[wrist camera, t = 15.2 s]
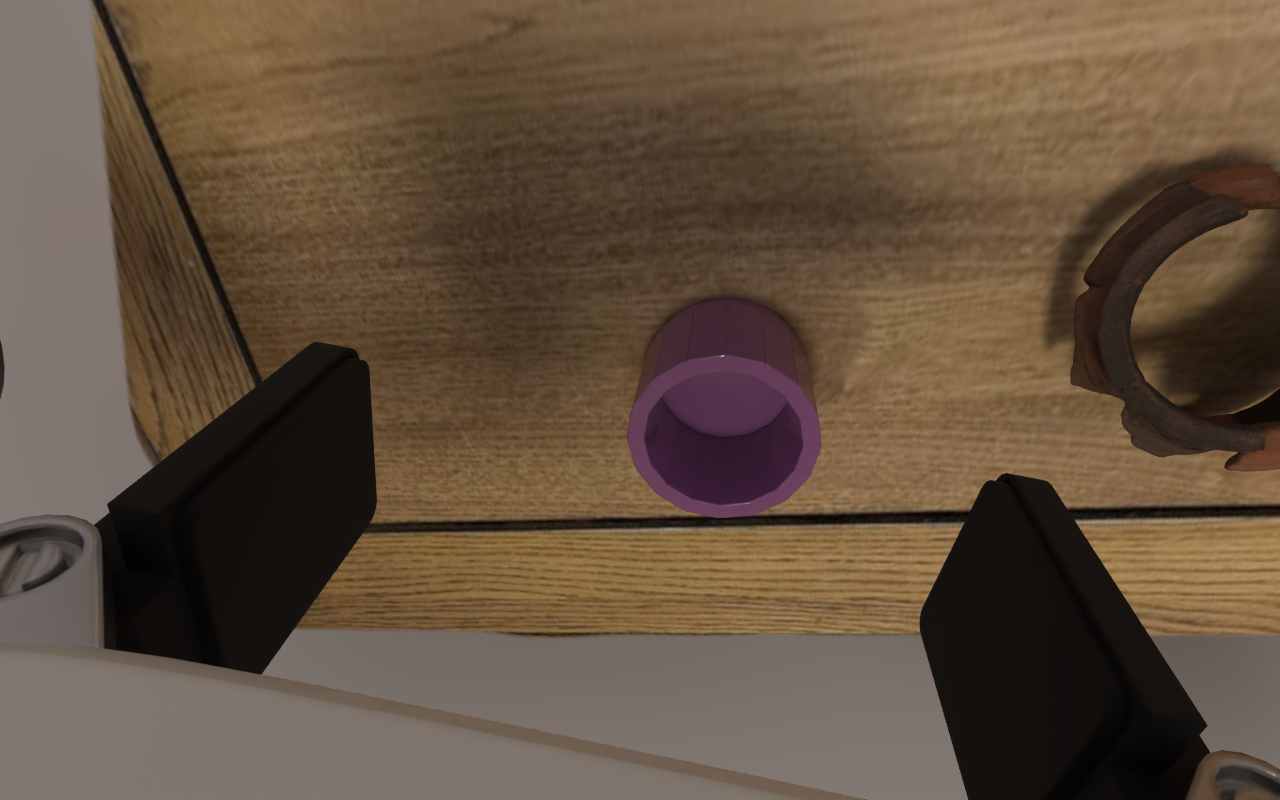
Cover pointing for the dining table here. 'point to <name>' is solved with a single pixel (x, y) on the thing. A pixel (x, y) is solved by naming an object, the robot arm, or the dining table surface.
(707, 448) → the purple hollow cylinder
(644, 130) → the dining table surface
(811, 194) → the dining table surface
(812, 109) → the dining table surface
